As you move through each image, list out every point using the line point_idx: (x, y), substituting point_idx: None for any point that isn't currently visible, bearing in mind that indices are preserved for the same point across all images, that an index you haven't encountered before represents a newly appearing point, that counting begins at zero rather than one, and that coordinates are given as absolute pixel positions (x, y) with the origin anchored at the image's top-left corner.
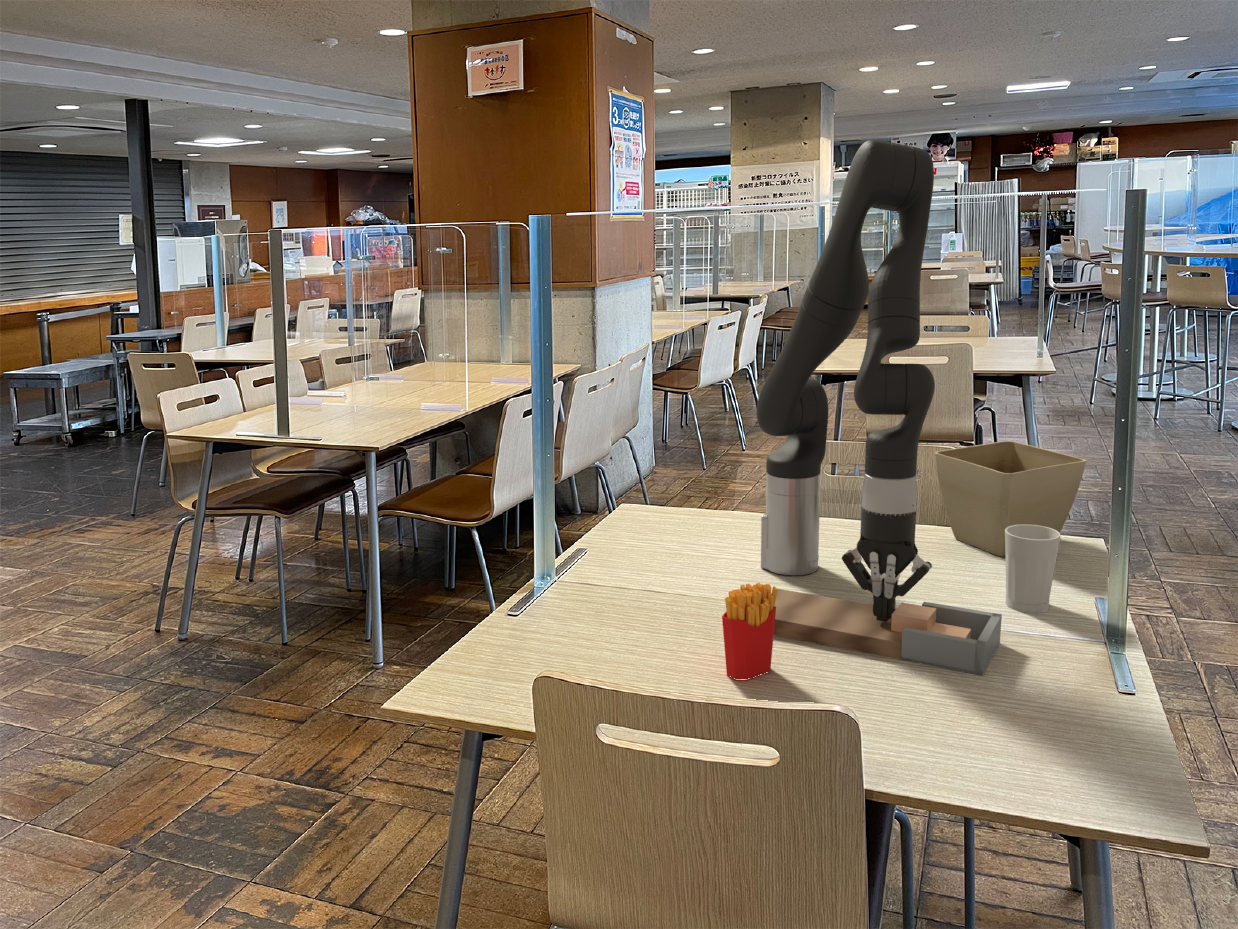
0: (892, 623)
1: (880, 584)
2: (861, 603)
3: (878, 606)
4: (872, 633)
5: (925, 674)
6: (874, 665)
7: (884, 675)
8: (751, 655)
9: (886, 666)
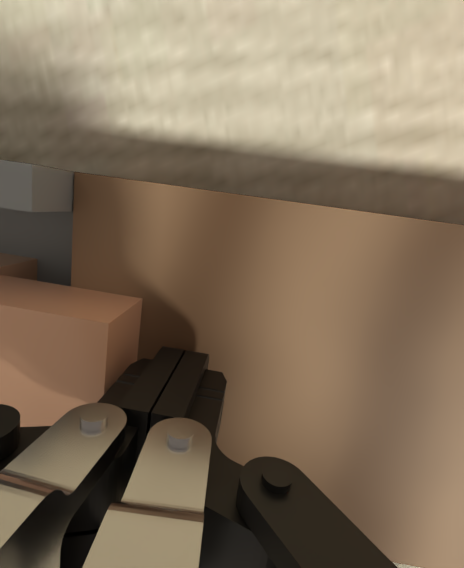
0: (124, 307)
1: (127, 487)
2: None
3: (188, 384)
4: (211, 237)
5: (4, 79)
6: (189, 89)
7: (136, 3)
8: None
9: (145, 98)
